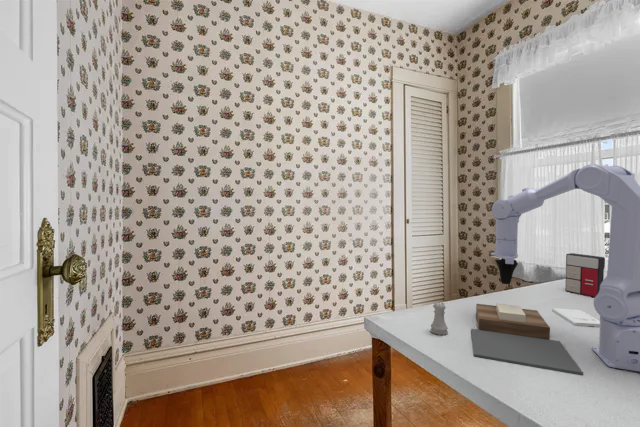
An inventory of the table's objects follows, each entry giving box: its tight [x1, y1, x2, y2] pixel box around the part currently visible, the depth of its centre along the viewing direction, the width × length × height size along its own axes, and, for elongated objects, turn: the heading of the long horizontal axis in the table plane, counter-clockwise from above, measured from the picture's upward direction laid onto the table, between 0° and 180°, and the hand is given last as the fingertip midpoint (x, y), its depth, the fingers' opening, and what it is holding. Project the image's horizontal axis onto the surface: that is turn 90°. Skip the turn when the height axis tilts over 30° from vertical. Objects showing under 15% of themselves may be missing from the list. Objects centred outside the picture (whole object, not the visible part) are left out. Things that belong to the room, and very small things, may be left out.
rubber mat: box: [470, 328, 584, 376], centre depth 75 cm, size 16×20×1 cm
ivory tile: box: [495, 303, 526, 323], centre depth 88 cm, size 8×6×2 cm
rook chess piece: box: [430, 301, 449, 336], centre depth 85 cm, size 4×4×8 cm
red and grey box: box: [564, 252, 606, 298], centre depth 121 cm, size 11×4×15 cm, turn 25°
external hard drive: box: [551, 307, 600, 328], centre depth 95 cm, size 2×8×12 cm
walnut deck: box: [475, 303, 551, 340], centre depth 89 cm, size 14×16×4 cm
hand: (505, 283), depth 96 cm, fingers closed
